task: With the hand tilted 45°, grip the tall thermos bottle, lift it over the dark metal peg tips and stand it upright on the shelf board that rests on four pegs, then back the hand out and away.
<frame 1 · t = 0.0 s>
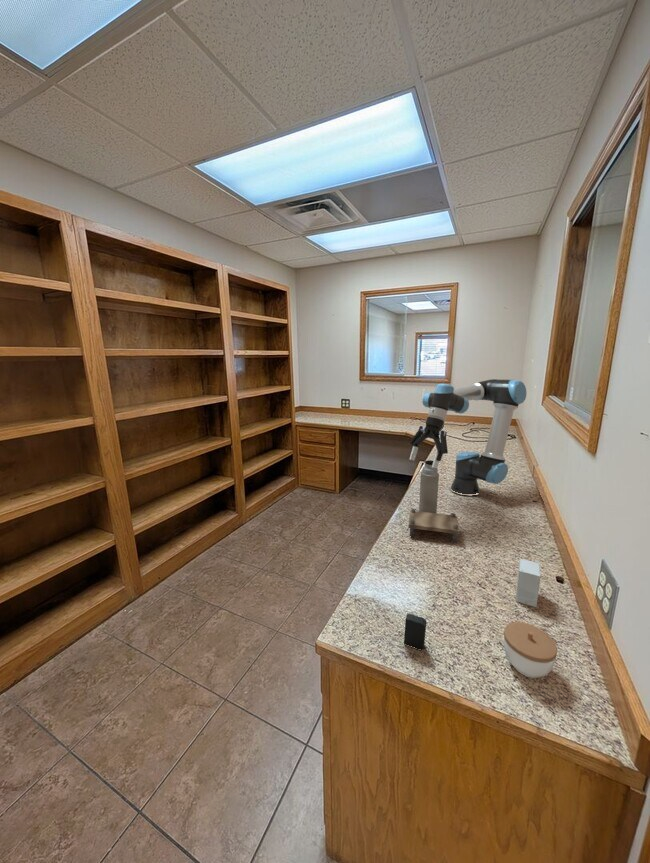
hand: (422, 463, 147), 28 cm above the worktop, tool tilted 20°, fingers open, 13 cm apart
ink cartridge: (414, 645, 85), on the worktop
peg shelf: (432, 532, 142), on the worktop
thermos bottle: (427, 518, 155), on the worktop
lidded jar: (526, 667, 79), on the worktop
small box: (525, 597, 102), on the worktop
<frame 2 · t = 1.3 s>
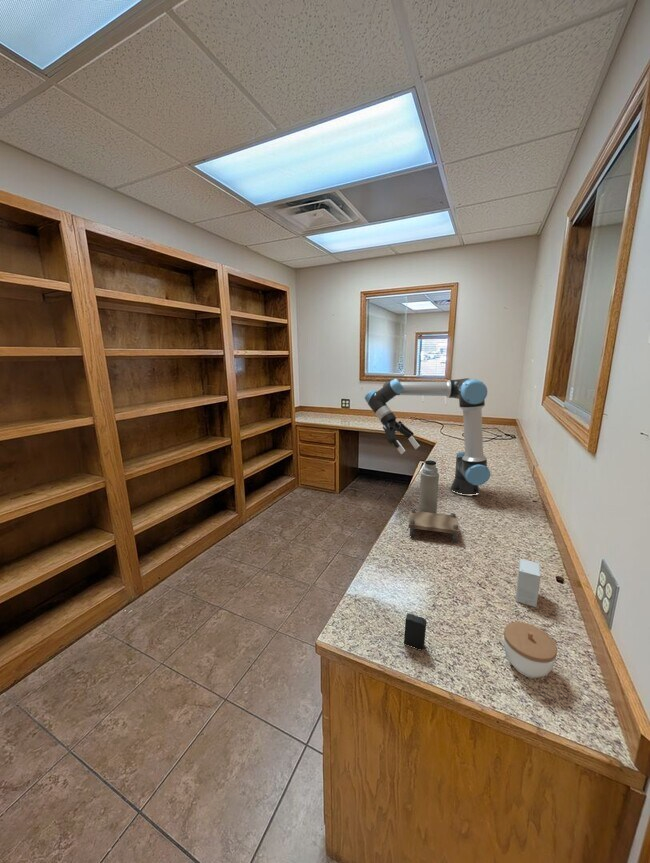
hand: (410, 450, 159), 31 cm above the worktop, tool tilted 45°, fingers open, 13 cm apart
nothing on the worktop moved.
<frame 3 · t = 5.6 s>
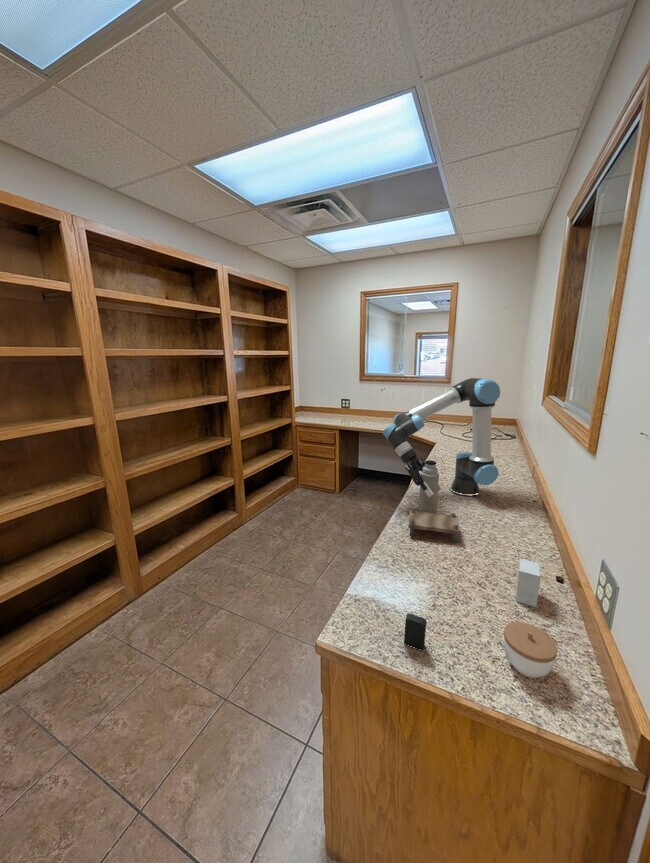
hand: (435, 492, 150), 14 cm above the worktop, tool tilted 45°, fingers closed on thermos bottle, 8 cm apart
thermos bottle: (427, 518, 155), on the worktop, touching gripper
everything else where it was.
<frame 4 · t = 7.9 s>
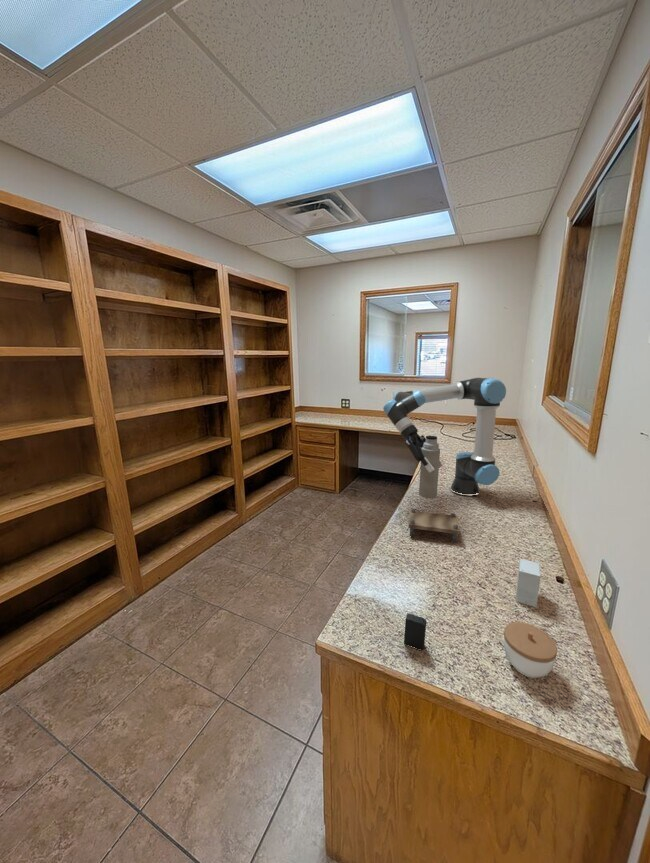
hand: (436, 468, 146), 26 cm above the worktop, tool tilted 45°, fingers closed on thermos bottle, 8 cm apart
thermos bottle: (427, 495, 152), point 12 cm above the worktop, touching gripper
everything else where it was.
when the fingers open (21 cm above the worktop, at t = 10.5 s): thermos bottle drops 1 cm, resting on peg shelf.
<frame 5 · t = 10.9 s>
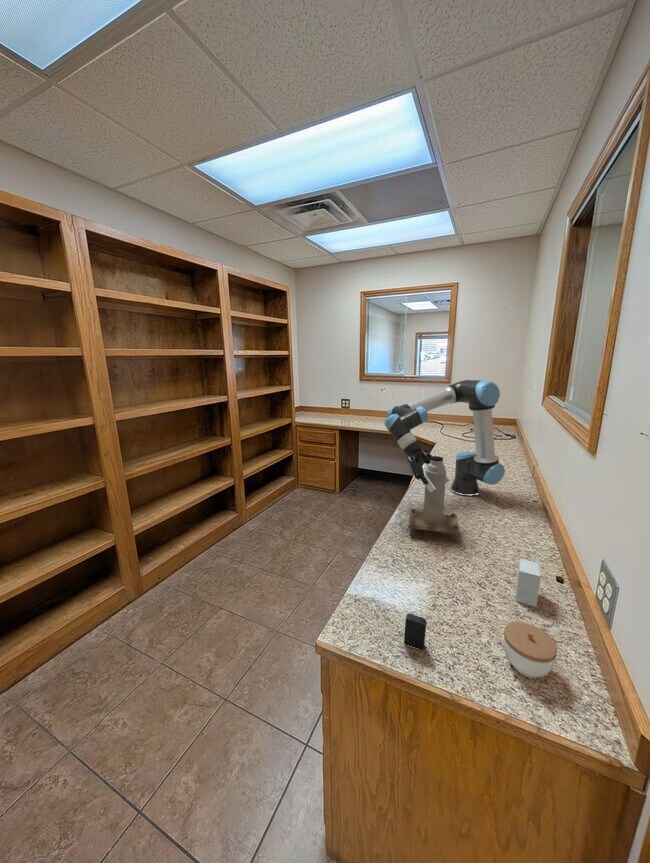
hand: (440, 486, 136), 22 cm above the worktop, tool tilted 45°, fingers open, 13 cm apart
thermos bottle: (432, 520, 140), point 6 cm above the worktop, touching peg shelf
everything else where it was.
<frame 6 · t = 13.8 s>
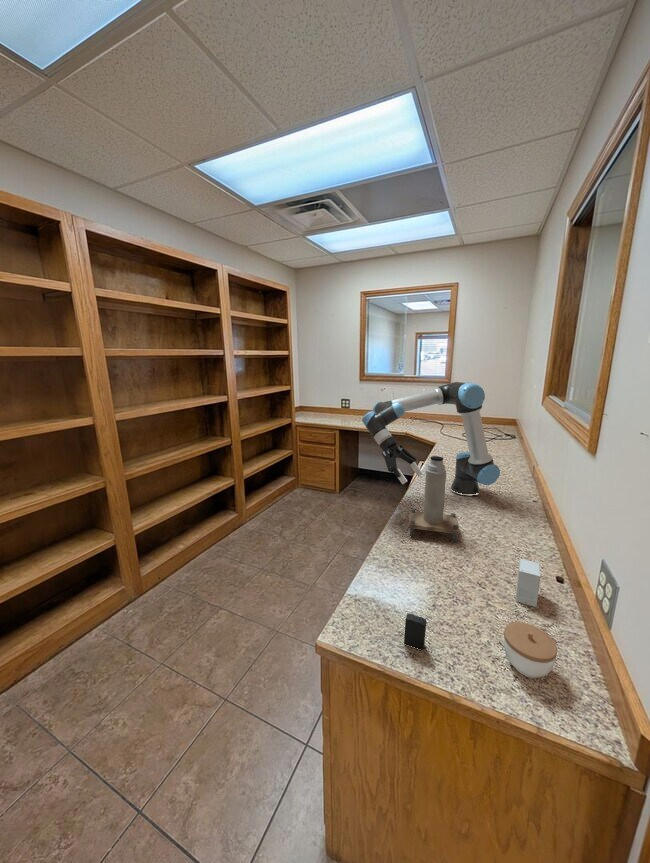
hand: (413, 479, 144), 22 cm above the worktop, tool tilted 45°, fingers open, 13 cm apart
nothing on the worktop moved.
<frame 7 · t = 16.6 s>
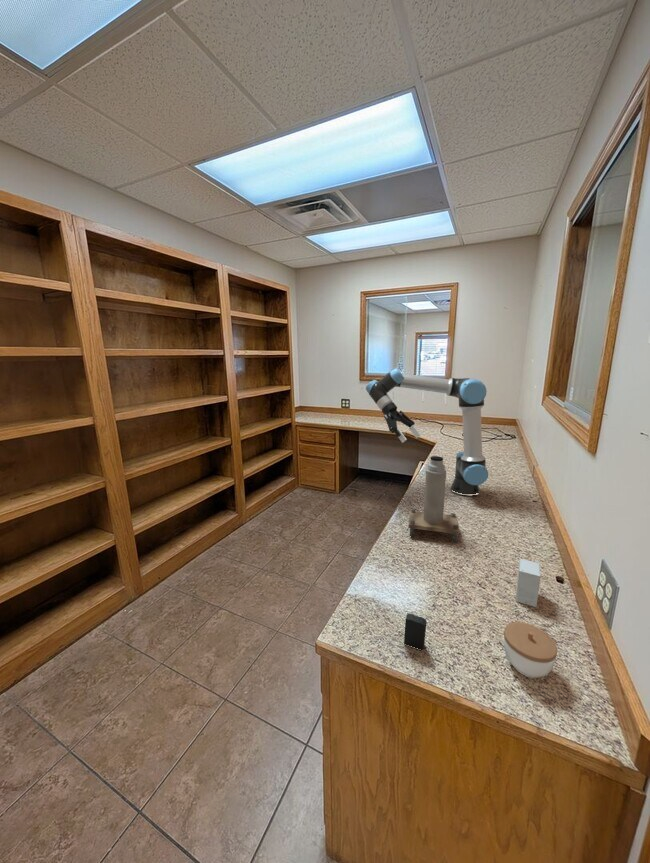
hand: (411, 439, 161), 36 cm above the worktop, tool tilted 45°, fingers open, 13 cm apart
nothing on the worktop moved.
at the end: thermos bottle inside the target area on the peg shelf (0.1 cm from its centre), point 5.8 cm above the peg shelf's base; thermos bottle tilted 0°; the gripper is holding nothing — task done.
